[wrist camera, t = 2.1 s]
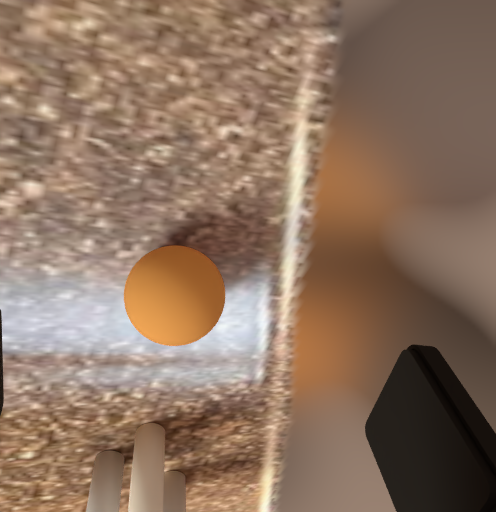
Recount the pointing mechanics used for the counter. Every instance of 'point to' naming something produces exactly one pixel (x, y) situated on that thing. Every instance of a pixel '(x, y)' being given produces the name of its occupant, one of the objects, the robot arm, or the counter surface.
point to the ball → (174, 295)
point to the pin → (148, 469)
